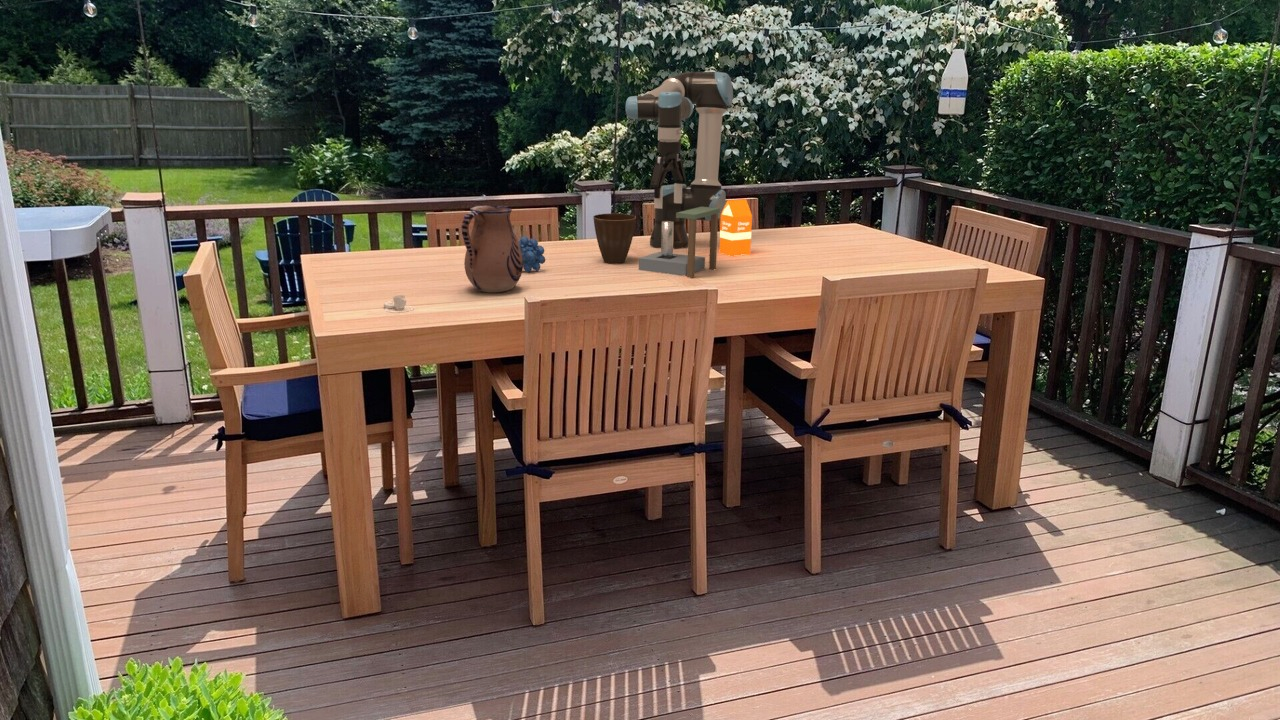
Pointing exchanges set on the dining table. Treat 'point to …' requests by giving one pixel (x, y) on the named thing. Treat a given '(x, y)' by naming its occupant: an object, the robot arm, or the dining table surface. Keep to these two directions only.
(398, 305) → the teacup and saucer
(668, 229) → the steel peg
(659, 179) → the robot arm
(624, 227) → the plant pot
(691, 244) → the awning
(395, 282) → the dining table surface
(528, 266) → the grapes
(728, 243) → the orange juice
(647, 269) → the socket block
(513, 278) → the ceramic pitcher
